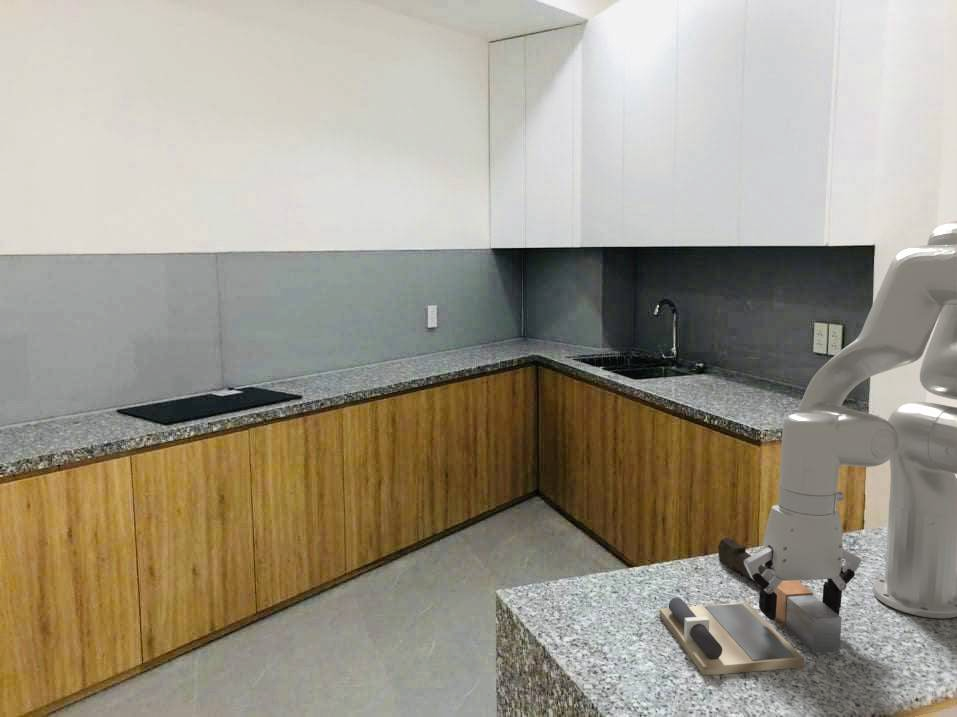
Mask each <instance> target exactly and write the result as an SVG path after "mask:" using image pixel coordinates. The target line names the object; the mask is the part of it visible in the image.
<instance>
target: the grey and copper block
mask: <svg viewBox="0 0 957 717" xmlns="http://www.w3.org/2000/svg"><path fill="white" fill-rule="evenodd" d="M769 581H770V580H769ZM773 592H775V593H776V594H777V605H776V619H775V620H776V621H777V622H778V623H779V624H780V625H781V626H782V627H783V628H784V629H786V630H787V631H788V632H789V633H790V634H791V635H792V636H793V637H794V638H795V639H797V641H798V642H800V643H801V644H802V645H803V646H804V647H805V649H807V650H808V651H809V652H810V653H811V654H823V653H835V652H840V650H841V636H842V634H841V633H842V632H841V631H842V616H841V615H840V614H839V615H838V614H837V613H835V612H834V611H833V610H832V609H830V608H829V607H828V606H827V605H825V604H824V603H823V602H822V600H820V598H818V597H817V596H815V595H814V592H813V591H812V590H810V589H809V588H808V587H807V586H806V585H804V584H803V583H802V582H800V580H796V581H784V580H783V581H782V582H781V583H780V584H779V585H778V587H777V588H776V589H775V590H774V591H773Z"/></svg>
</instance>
